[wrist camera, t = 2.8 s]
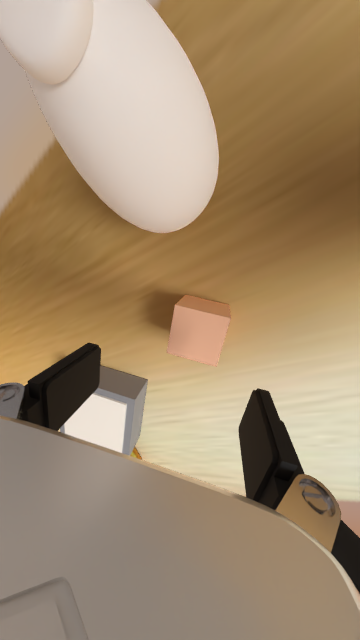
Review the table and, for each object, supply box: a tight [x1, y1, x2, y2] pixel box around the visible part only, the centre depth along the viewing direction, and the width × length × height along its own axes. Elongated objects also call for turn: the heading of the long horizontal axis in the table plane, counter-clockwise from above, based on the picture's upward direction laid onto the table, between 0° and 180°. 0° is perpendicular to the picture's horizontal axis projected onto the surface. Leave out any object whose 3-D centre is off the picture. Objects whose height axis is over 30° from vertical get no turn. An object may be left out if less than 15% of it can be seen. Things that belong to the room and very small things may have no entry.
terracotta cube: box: [167, 295, 231, 367], centre depth 19 cm, size 5×5×5 cm
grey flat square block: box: [60, 365, 148, 456], centre depth 27 cm, size 11×11×4 cm
